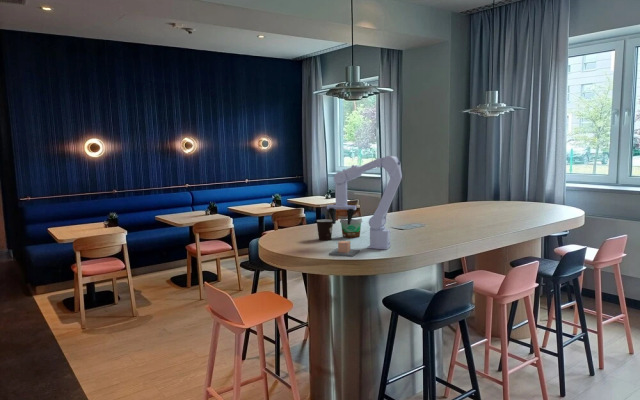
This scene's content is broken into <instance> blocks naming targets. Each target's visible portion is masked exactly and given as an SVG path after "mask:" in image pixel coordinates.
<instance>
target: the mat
mask: <svg viewBox="0 0 640 400" xmlns="http://www.w3.org/2000/svg"><path fill="white" fill-rule="evenodd" d="M360 252H361V250H360V249H355V248H354V249H353V248H350V251H349V252H348V253H344V252H338V247H337V248H334V250H331V251H330V252H329V253H328V255H329V256H339V257H342V256H343V257H354V256H356V255H357V254H359V253H360Z"/></svg>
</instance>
